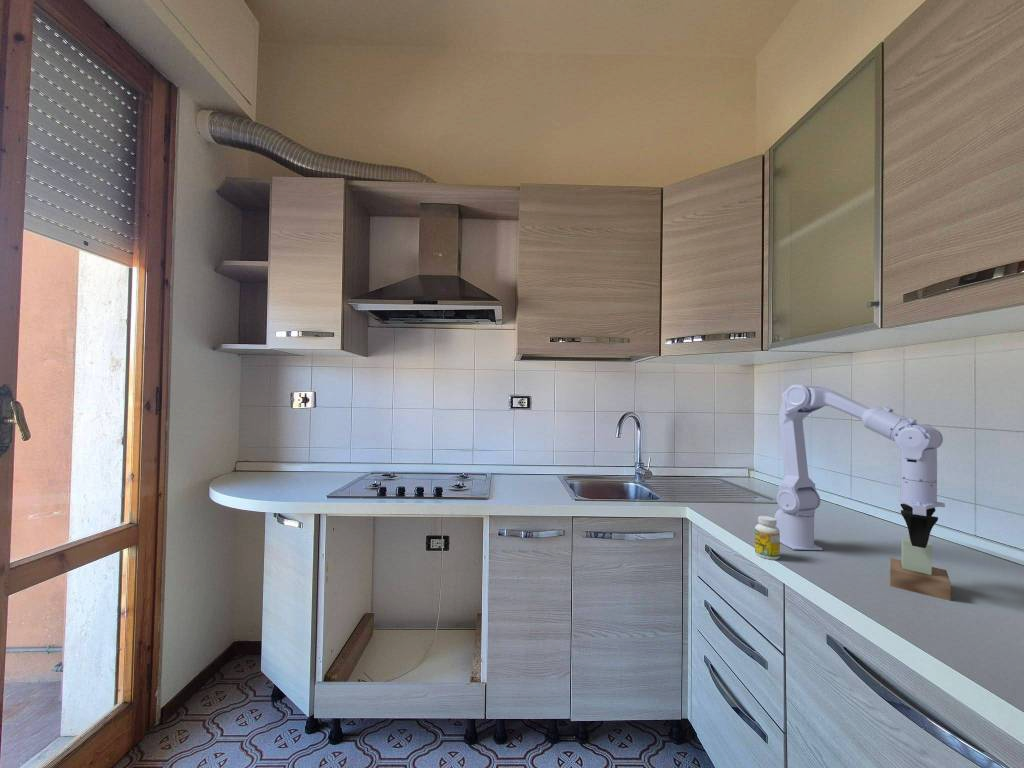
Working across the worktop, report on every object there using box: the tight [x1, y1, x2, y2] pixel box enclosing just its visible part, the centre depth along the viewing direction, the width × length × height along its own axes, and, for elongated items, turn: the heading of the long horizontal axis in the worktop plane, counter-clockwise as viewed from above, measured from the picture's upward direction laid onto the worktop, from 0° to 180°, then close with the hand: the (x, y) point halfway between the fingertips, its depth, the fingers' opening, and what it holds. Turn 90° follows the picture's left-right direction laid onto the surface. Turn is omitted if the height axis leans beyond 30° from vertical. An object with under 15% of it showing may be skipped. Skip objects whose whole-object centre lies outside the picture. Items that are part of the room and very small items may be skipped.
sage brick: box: [900, 536, 933, 575], centre depth 91 cm, size 4×4×6 cm
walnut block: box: [889, 557, 952, 602], centre depth 90 cm, size 9×9×4 cm
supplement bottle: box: [754, 515, 781, 561], centre depth 105 cm, size 5×5×10 cm
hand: (918, 542), depth 90 cm, fingers open, 7 cm apart
